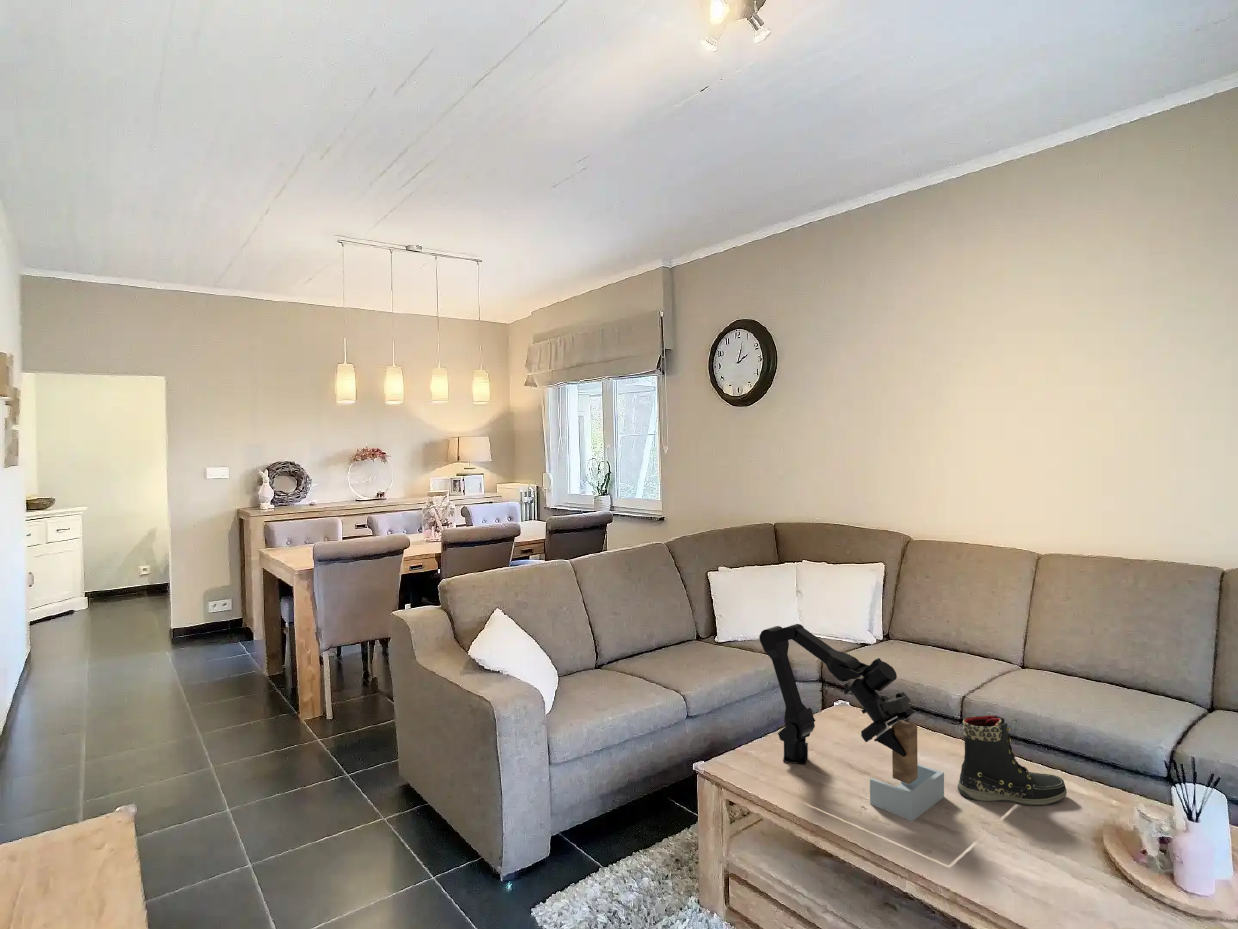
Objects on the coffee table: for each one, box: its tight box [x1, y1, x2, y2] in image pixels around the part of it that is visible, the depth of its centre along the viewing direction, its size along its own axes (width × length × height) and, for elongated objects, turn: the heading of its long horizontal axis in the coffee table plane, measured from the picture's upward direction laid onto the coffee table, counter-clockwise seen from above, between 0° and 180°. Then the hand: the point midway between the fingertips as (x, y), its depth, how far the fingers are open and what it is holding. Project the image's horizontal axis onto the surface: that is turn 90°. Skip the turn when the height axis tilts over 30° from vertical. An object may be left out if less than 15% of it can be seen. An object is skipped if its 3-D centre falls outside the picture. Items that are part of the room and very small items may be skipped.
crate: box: [869, 762, 945, 822], centre depth 180 cm, size 11×17×7 cm, turn 131°
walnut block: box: [891, 720, 919, 784], centre depth 180 cm, size 4×4×14 cm
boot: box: [957, 715, 1068, 806], centre depth 182 cm, size 12×27×20 cm, turn 101°
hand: (909, 753), depth 179 cm, fingers closed on walnut block, 4 cm apart
